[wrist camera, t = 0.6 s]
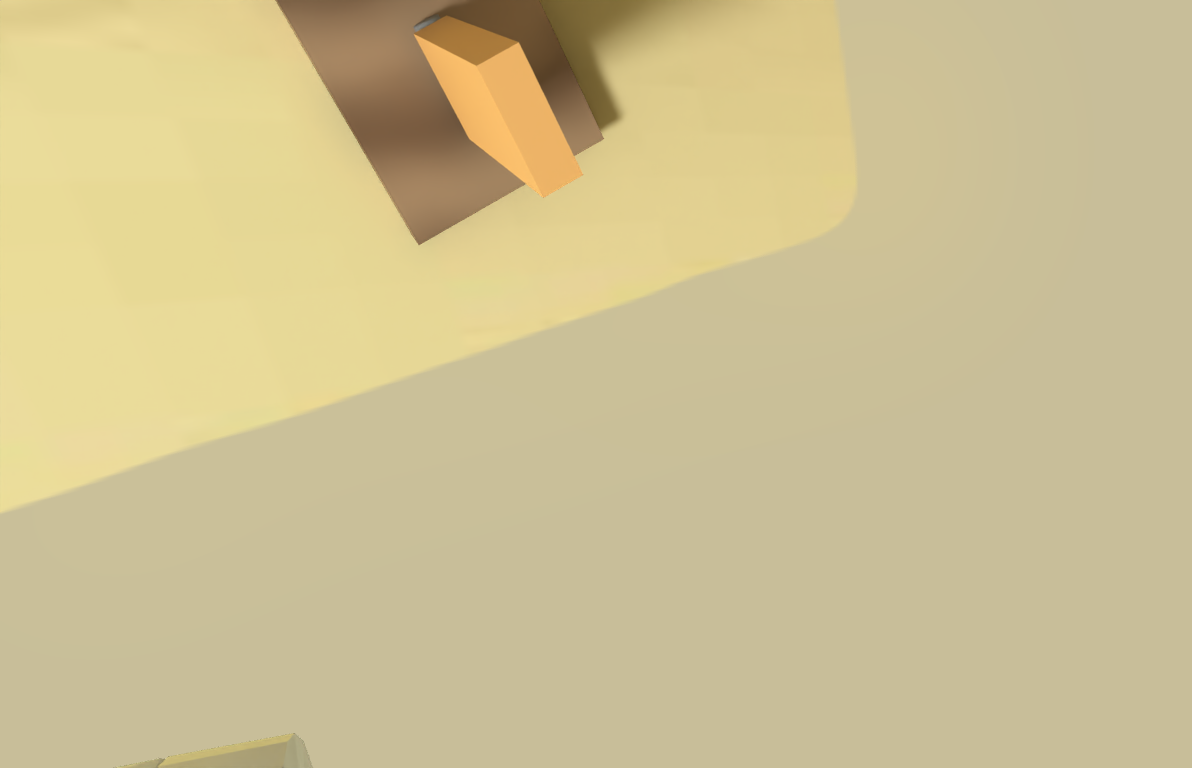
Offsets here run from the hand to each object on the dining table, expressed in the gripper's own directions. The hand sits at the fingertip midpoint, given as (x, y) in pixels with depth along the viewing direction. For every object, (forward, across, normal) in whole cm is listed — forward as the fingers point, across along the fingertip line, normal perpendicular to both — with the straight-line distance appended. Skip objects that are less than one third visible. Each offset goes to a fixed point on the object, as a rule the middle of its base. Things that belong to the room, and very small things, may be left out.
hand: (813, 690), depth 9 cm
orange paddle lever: (+44, +2, 0) cm, 44 cm away
